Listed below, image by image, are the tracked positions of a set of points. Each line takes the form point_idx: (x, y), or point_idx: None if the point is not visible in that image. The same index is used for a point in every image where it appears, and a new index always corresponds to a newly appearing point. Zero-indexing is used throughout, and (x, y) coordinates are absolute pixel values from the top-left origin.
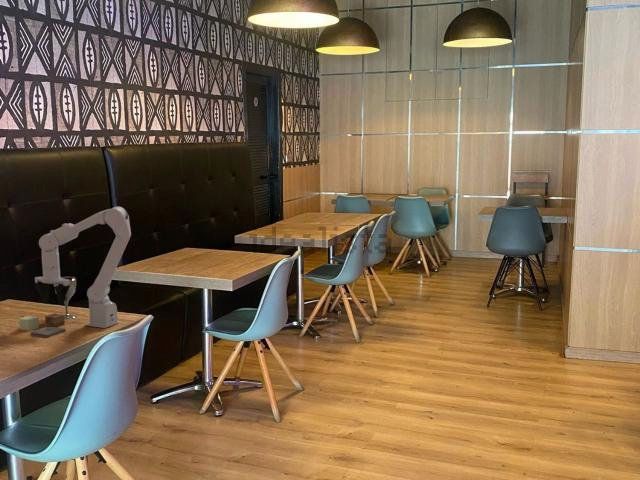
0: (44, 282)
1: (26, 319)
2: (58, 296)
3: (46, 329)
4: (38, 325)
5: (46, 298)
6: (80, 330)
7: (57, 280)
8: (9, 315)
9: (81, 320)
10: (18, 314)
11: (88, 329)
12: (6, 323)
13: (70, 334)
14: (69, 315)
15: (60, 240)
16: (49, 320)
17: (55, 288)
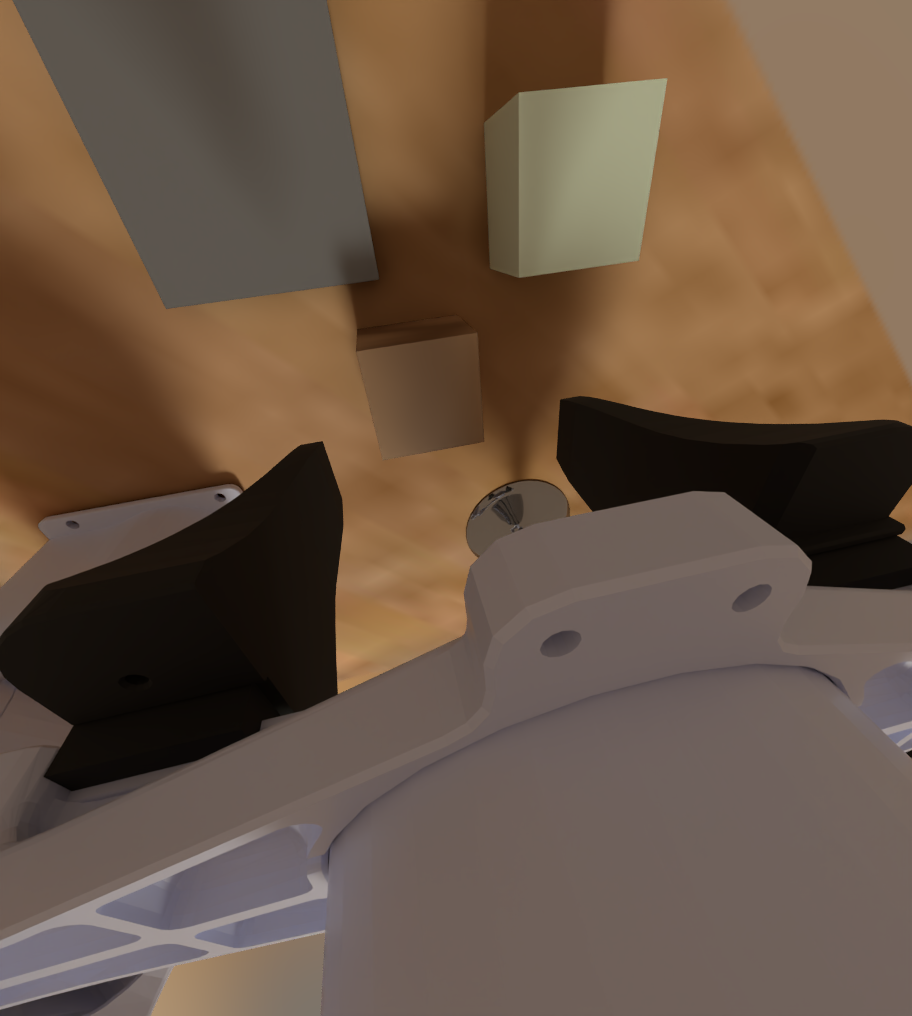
0: (528, 527)
1: (562, 105)
2: (255, 492)
3: (280, 174)
4: (494, 263)
5: (579, 459)
6: (118, 395)
7: (95, 900)
8: (870, 365)
9: (382, 533)
10: (822, 409)
11: (106, 445)
12: (813, 201)
13: (18, 256)
14: (502, 536)
15: None
16: (422, 333)
17: (175, 563)
